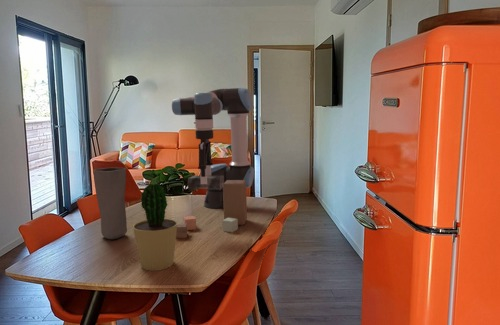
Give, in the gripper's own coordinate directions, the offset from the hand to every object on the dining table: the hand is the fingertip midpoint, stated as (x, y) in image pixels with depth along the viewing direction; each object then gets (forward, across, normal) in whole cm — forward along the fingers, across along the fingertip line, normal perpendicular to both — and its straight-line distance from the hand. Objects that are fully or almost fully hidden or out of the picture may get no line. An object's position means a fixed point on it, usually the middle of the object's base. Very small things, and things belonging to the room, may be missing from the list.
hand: (206, 181), depth 180 cm
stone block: (+3, 0, 0) cm, 3 cm away
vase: (+23, +7, -40) cm, 47 cm away
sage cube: (+23, -6, +9) cm, 26 cm away
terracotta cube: (+23, -8, -10) cm, 27 cm away
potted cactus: (+23, +36, -11) cm, 44 cm away
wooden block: (+24, -18, +10) cm, 31 cm away
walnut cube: (+23, +4, -11) cm, 26 cm away
